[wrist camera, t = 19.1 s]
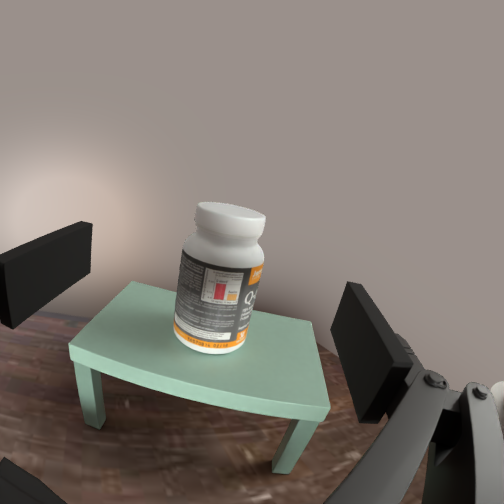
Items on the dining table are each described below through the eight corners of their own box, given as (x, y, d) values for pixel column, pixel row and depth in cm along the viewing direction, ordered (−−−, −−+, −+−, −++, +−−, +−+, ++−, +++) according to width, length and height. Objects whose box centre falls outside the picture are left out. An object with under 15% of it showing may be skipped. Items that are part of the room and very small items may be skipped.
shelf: (286, 388, 32) (311, 321, 29) (290, 476, 20) (331, 407, 18) (129, 351, 32) (132, 280, 29) (82, 424, 20) (68, 343, 17)
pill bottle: (252, 359, 22) (286, 226, 19) (172, 355, 20) (192, 211, 17) (236, 319, 27) (261, 207, 24) (171, 313, 25) (188, 195, 22)
